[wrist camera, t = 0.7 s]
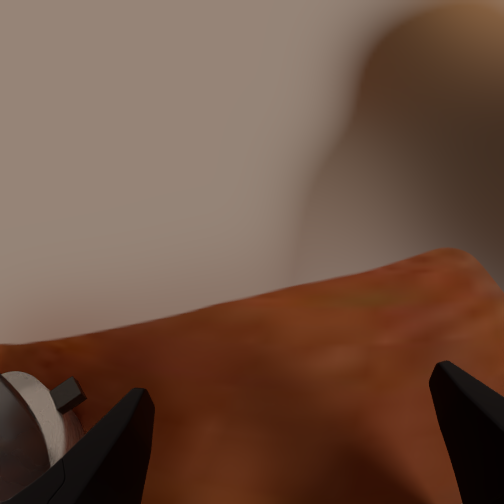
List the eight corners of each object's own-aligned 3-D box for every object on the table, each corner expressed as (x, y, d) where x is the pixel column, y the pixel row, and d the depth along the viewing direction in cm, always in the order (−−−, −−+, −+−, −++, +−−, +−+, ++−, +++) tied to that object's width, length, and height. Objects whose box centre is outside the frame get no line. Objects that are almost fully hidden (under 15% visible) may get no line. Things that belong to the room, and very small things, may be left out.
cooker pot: (133, 456, 19) (106, 440, 16) (9, 528, 10) (-26, 518, 7) (76, 363, 26) (53, 336, 23) (-25, 433, 17) (-54, 413, 14)
